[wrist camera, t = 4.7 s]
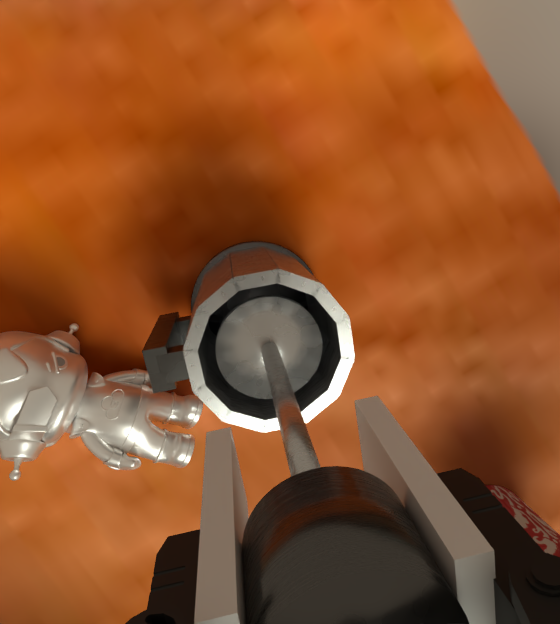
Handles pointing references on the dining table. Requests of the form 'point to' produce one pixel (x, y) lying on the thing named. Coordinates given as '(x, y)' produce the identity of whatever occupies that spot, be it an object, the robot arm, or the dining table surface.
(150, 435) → the figurine
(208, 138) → the dining table surface
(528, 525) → the mug
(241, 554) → the robot arm
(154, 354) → the grey coffee mug
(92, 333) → the dining table surface
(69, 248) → the dining table surface
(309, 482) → the plunger
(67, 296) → the dining table surface
